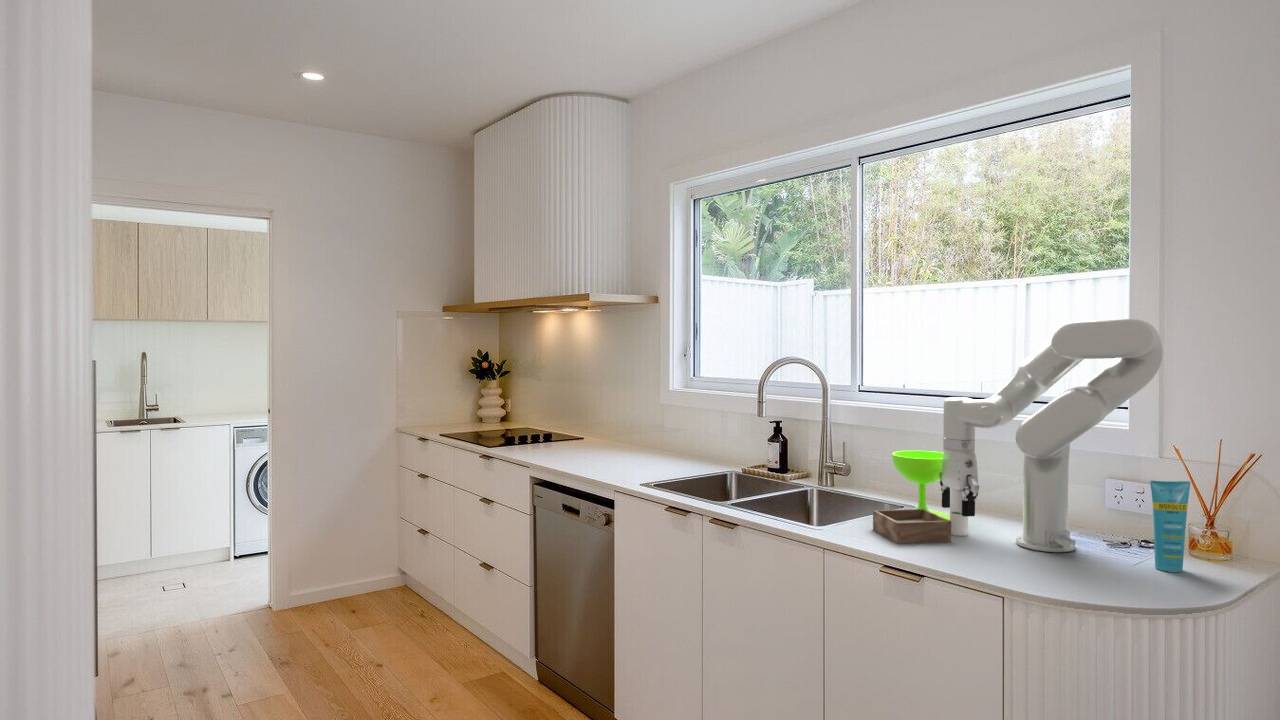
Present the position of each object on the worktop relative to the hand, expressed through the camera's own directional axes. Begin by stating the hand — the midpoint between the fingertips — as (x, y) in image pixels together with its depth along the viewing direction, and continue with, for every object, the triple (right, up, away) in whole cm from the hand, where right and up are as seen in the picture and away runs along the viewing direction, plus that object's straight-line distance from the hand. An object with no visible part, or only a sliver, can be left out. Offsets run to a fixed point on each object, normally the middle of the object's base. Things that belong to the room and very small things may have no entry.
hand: (957, 511), depth 192 cm
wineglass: (-3, -6, +16) cm, 17 cm away
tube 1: (0, -6, 0) cm, 6 cm away
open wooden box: (-13, -6, -2) cm, 14 cm away
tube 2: (+32, -6, -32) cm, 45 cm away
